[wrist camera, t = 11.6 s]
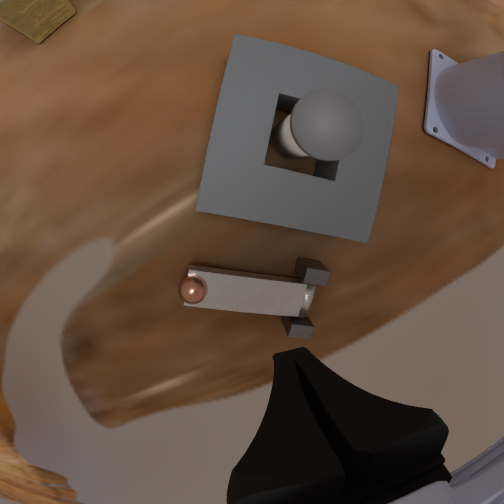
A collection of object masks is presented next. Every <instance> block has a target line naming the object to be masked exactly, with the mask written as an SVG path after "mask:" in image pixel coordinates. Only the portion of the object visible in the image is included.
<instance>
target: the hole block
mask: <svg viewBox="0 0 504 504" xmlns="http://www.w3.org/2000/svg"><path fill="white" fill-rule="evenodd" d="M321 88H329V89H334V90H337V91H340V92H342V93H343V94H345V95H347V96H348V97H349V98H350V99H351V100H352V101H353V102H354V103H355V104H356V106H357V107H358V109H359V111H360V113H361V116H362V119H363V125H364V131H363V137H362V140H361V143H360V145H359V146H358V148H357V149H356V150H355V151H354V152H353V153H352V154H351V155H349V156H348V157H346V158H344V159H341V160H336V161H322V160H317V163H316V167H315V172H314V176H311V175H307V174H303V173H299V172H295V171H290V170H286V169H282V168H277V167H273V166H268V165H264V162H265V157H266V153H267V148H268V143H269V138H270V134H271V129H272V124H273V119H274V115H275V110H276V109H278V110H282V111H286V112H290V113H291V112H292V109H293V107H294V106H295V104H296V103H297V102H298V100H299V99H301V98H302V97H303V96H304V95H306V94H307V93H309V92H310V91H313V90H316V89H321ZM398 88H399V86H398V85H396V84H394V83H392V82H389V81H387V80H385V79H382V78H380V77H378V76H375V75H373V74H371V73H368V72H366V71H363V70H361V69H358V68H355V67H353V66H350V65H347V64H345V63H342V62H339V61H336V60H333V59H330V58H327V57H324V56H321V55H318V54H315V53H312V52H308V51H305V50H301V49H298V48H294V47H291V46H287V45H283V44H279V43H275V42H271V41H266V40H262V39H257V38H253V37H248V36H243V35H237V34H235V36H234V39H233V43H232V47H231V50H230V54H229V58H228V62H227V66H226V70H225V74H224V78H223V82H222V86H221V90H220V94H219V99H218V103H217V107H216V112H215V116H214V121H213V125H212V130H211V134H210V139H209V144H208V149H207V154H206V159H205V164H204V169H203V174H202V179H201V185H200V190H199V196H198V201H197V207H196V211H201V212H206V213H212V214H218V215H224V216H229V217H235V218H241V219H246V220H252V221H257V222H262V223H268V224H273V225H278V226H284V227H289V228H294V229H299V230H304V231H309V232H314V233H319V234H324V235H329V236H334V237H339V238H344V239H349V240H353V241H358V242H363V243H368V242H369V238H370V235H371V231H372V227H373V223H374V219H375V215H376V211H377V206H378V202H379V198H380V193H381V189H382V184H383V179H384V175H385V170H386V165H387V159H388V154H389V149H390V143H391V137H392V131H393V125H394V118H395V111H396V104H397V96H398Z"/></svg>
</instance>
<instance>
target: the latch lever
mask: <svg viewBox="0 0 504 504" xmlns="http://www.w3.org/2000/svg"><path fill="white" fill-rule="evenodd" d="M316 287H317V285H315V284H308V283H303V281H302V280H301V279H297V278H289V277H281V276H273V275H265V274H257V273H249V272H242V271H234V270H227V269H219V268H212V267H204V266H197V265H190V264H189V267H188V274H187V276H186V277H184V278H183V279H182V280H181V281H180V283H179V286H178V292H179V295H180V297H181V299H182V300H183V301H184V306H192V307H201V308H209V309H218V310H227V311H237V312H247V313H258V314H269V315H281V316H294V317H301V318H306V317H308V315H309V311H310V308H311V305H312V301H313V298H314V294H315V291H316Z"/></svg>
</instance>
